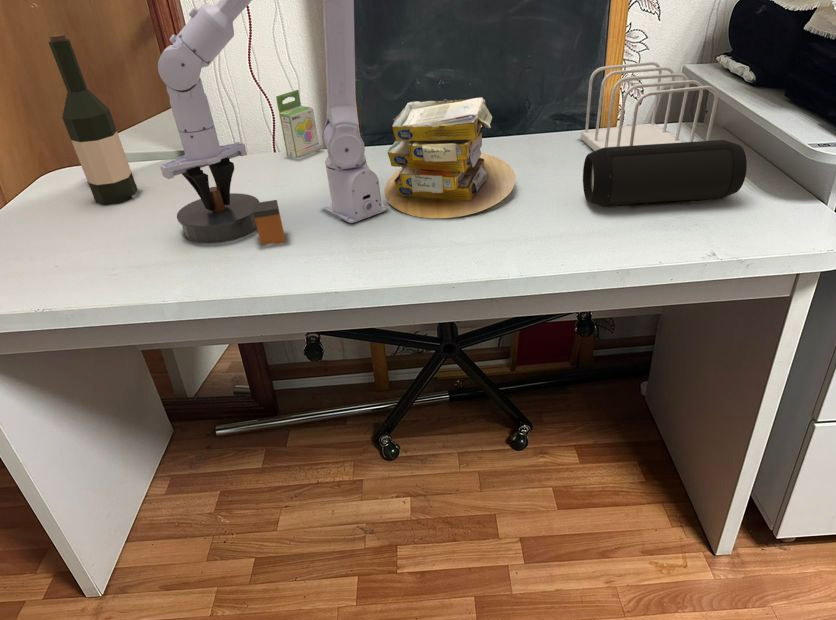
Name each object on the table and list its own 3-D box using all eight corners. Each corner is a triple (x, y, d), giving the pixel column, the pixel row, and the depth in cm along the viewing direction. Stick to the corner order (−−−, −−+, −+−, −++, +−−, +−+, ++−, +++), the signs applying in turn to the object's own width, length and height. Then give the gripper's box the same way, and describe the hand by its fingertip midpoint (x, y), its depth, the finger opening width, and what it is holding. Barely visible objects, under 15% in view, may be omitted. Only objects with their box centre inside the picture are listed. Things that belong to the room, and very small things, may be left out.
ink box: (298, 160, 139) (287, 98, 132) (286, 158, 142) (274, 96, 134) (321, 151, 144) (310, 90, 136) (309, 149, 146) (298, 88, 138)
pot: (274, 228, 110) (270, 210, 108) (204, 253, 104) (198, 234, 102) (241, 208, 119) (237, 191, 117) (174, 230, 112) (169, 212, 110)
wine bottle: (123, 205, 123) (61, 39, 106) (86, 204, 125) (19, 40, 107) (146, 189, 130) (92, 30, 112) (111, 188, 131) (52, 31, 114)
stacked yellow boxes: (479, 227, 106) (478, 128, 96) (360, 206, 116) (348, 114, 107) (533, 178, 123) (537, 89, 113) (425, 163, 133) (420, 81, 124)
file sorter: (579, 139, 140) (586, 65, 131) (653, 132, 142) (664, 58, 133) (624, 178, 120) (635, 94, 111) (709, 169, 122) (727, 84, 113)
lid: (270, 197, 115) (264, 172, 112) (247, 230, 103) (240, 204, 101) (195, 200, 116) (188, 175, 113) (165, 233, 104) (156, 206, 102)
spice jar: (284, 234, 108) (276, 199, 104) (285, 244, 105) (278, 208, 101) (261, 238, 107) (252, 203, 104) (261, 248, 104) (253, 212, 100)
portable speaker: (717, 186, 115) (729, 131, 109) (740, 207, 106) (755, 149, 101) (579, 195, 115) (584, 140, 109) (592, 217, 107) (598, 159, 101)
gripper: (164, 143, 94) (190, 226, 102) (248, 120, 102) (265, 198, 110) (145, 135, 99) (171, 215, 107) (226, 113, 107) (245, 189, 114)
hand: (217, 206), depth 109 cm, fingers closed on lid, 2 cm apart
